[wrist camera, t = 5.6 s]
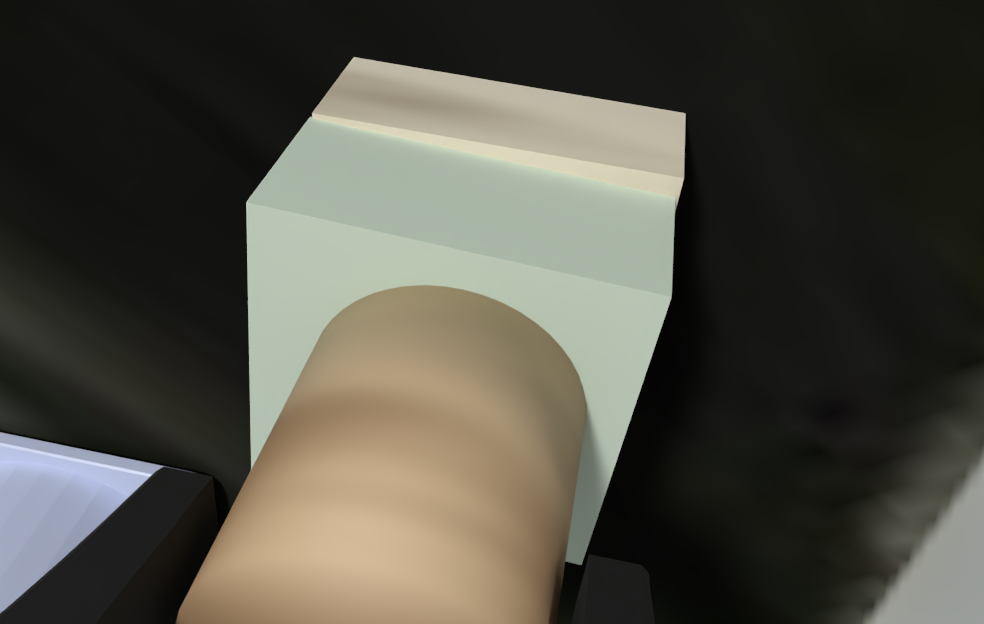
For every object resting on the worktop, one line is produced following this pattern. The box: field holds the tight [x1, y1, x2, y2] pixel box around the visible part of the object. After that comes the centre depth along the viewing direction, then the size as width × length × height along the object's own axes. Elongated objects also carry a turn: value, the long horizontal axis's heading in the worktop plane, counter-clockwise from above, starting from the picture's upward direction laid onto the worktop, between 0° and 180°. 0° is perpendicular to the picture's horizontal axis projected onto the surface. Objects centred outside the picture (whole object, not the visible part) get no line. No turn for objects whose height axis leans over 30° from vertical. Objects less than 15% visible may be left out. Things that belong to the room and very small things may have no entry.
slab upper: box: [246, 117, 675, 565], centre depth 15 cm, size 6×6×2 cm
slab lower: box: [312, 57, 686, 211], centre depth 16 cm, size 6×6×2 cm
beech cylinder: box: [176, 285, 586, 624], centre depth 12 cm, size 4×4×4 cm
